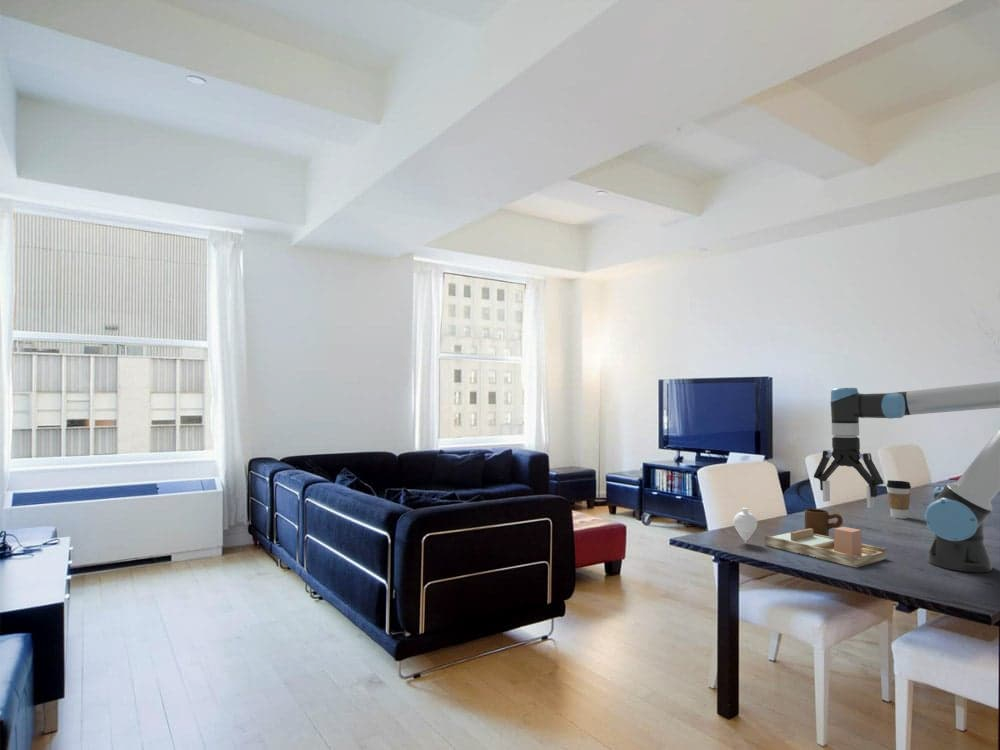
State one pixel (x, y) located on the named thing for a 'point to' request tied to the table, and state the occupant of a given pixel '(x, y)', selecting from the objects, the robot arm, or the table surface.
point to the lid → (805, 537)
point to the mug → (821, 521)
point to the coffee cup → (899, 498)
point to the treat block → (848, 541)
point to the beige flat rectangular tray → (829, 551)
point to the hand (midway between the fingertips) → (848, 504)
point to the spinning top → (745, 523)
